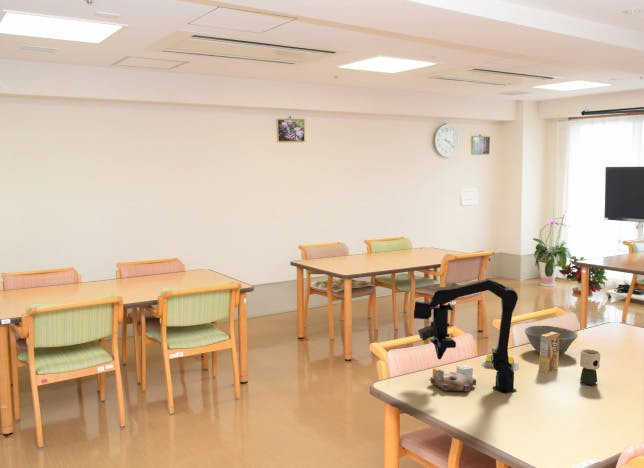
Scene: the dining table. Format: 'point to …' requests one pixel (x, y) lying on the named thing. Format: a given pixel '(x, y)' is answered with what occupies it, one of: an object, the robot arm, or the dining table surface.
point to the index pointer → (435, 371)
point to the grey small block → (465, 370)
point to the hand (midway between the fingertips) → (439, 359)
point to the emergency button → (489, 364)
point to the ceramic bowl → (537, 331)
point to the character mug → (589, 365)
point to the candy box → (549, 351)
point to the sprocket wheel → (453, 381)
